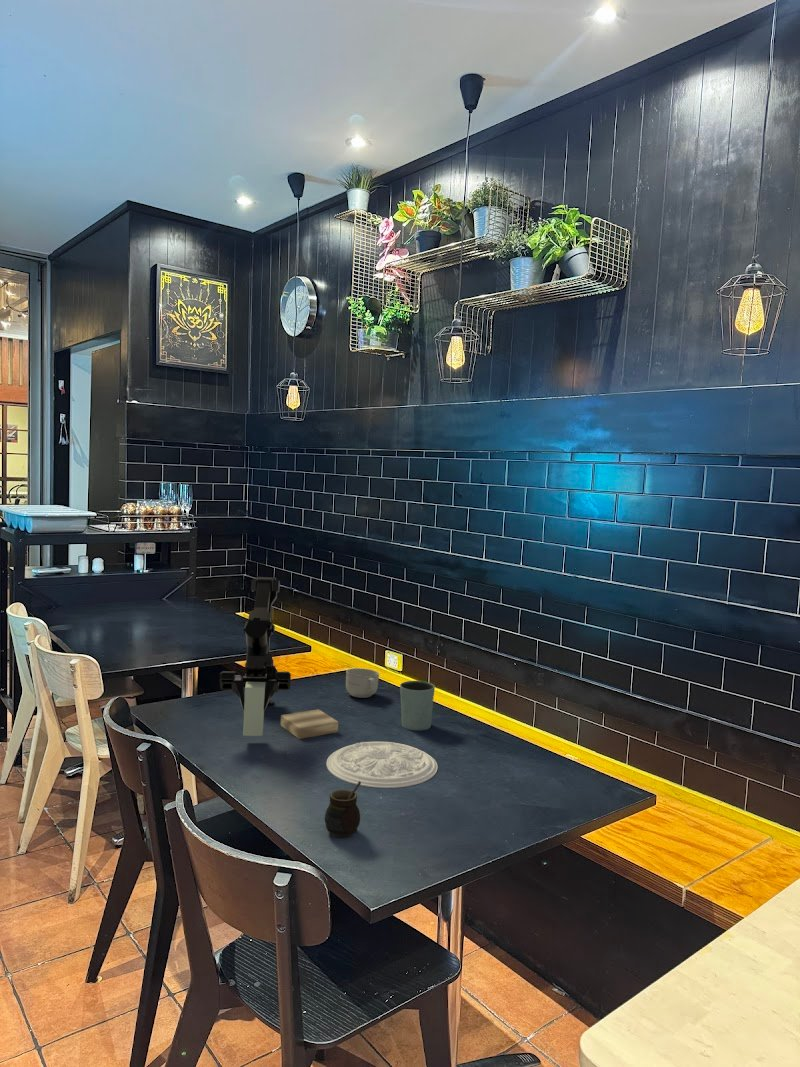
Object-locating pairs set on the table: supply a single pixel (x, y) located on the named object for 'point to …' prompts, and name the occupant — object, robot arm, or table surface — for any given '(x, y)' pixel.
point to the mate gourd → (342, 813)
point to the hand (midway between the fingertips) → (254, 709)
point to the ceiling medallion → (382, 765)
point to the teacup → (361, 682)
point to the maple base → (309, 723)
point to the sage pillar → (254, 709)
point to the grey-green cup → (416, 704)
